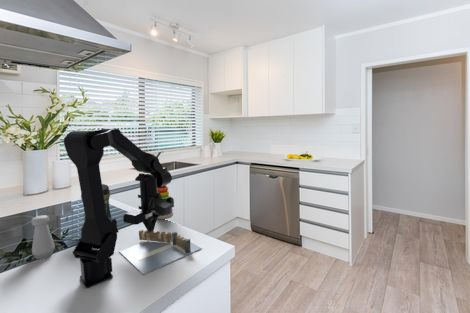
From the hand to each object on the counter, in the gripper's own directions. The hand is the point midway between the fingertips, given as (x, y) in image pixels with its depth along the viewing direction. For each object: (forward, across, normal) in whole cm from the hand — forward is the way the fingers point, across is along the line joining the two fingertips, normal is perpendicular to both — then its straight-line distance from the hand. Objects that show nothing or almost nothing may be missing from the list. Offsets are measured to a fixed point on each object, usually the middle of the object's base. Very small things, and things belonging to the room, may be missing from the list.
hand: (151, 233), depth 88 cm
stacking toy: (+3, +20, +11) cm, 23 cm away
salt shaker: (+3, -22, +24) cm, 33 cm away
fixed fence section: (+2, -1, -14) cm, 14 cm away
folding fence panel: (+2, -1, -3) cm, 4 cm away
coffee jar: (+3, -3, +24) cm, 24 cm away
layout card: (+2, -5, -8) cm, 10 cm away
